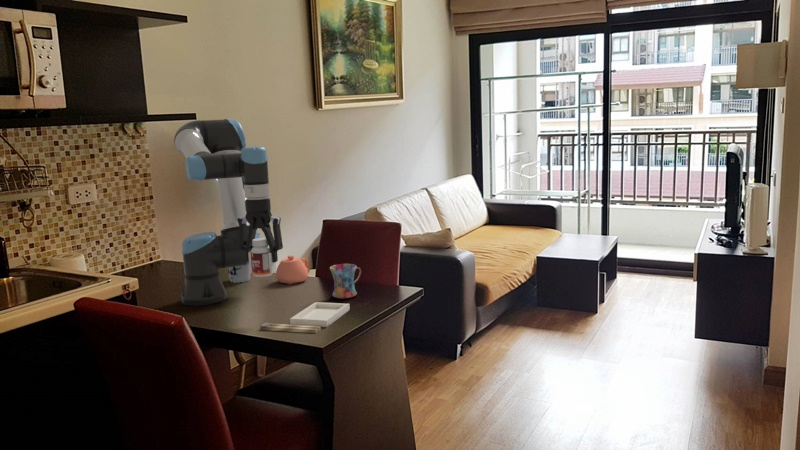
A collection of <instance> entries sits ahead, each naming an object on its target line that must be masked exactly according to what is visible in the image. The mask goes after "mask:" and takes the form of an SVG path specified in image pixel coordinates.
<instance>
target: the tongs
mask: <svg viewBox="0 0 800 450" xmlns="http://www.w3.org/2000/svg"><path fill="white" fill-rule="evenodd" d="M259 329H260V331H277V332H278V331H279V332H290V333H291V332H292V333H307V334H308V333H309V334H310V333H311V334H317V333H319V332H320V331H321V330H322V327H320V326H303V325H291V324H282V323H274V322H264V323H263V324H261V325H260V328H259Z"/></svg>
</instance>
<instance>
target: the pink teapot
mask: <svg viewBox="0 0 800 450" xmlns="http://www.w3.org/2000/svg"><path fill="white" fill-rule="evenodd" d="M303 261H304V262H303ZM308 266H309V261H308V259H307V258H304V257H302V258H299V257H295V255H287V258H284V259H281V260H280V262H279V264H278V265H277V267H276V272H275V278H276V280H277V281H278V282H280V283H281V284H282V283H283V284H287V285H290V286H291V285H293V284H296V283H303V282H304V281H305V280H306V279H307V278H308V277H309V273H310V268H308Z"/></svg>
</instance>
